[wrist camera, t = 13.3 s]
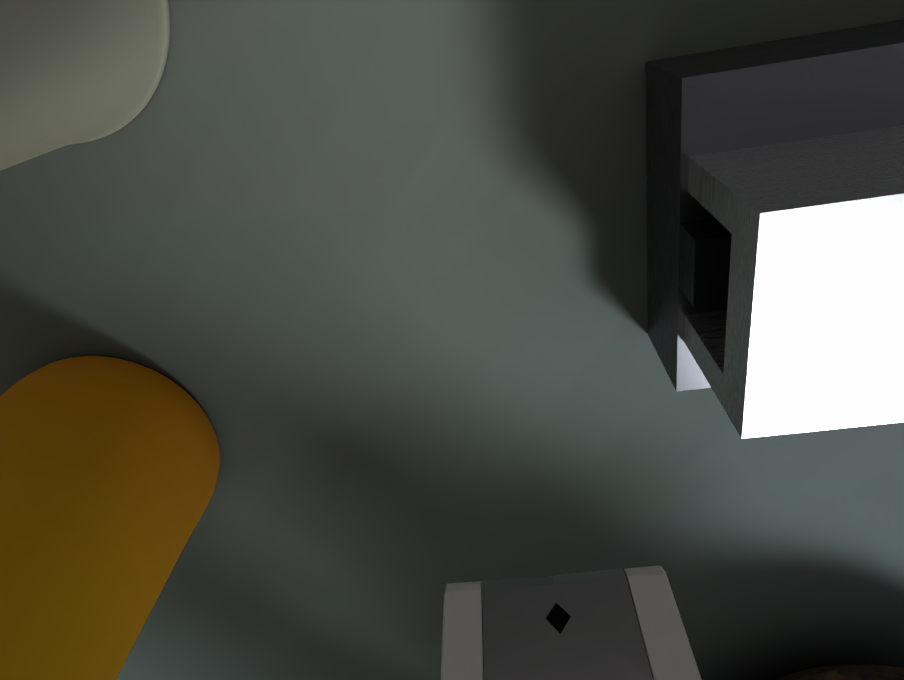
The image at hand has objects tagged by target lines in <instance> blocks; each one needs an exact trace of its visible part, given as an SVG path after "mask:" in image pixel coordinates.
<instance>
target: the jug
mask: <svg viewBox="0 0 904 680" xmlns="http://www.w3.org/2000/svg"><path fill="white" fill-rule="evenodd" d="M777 680H904V668H900V667H893V666H886V665H875V664H859V665H848V664H846V665H831V666H819V667H815V668H810V669H806V670H802V671H798V672H795V673H792V674H790V675H787V676H784V677H781V678H779V679H777Z"/></svg>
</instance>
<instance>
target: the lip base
mask: <svg viewBox="0 0 904 680" xmlns="http://www.w3.org/2000/svg"><path fill="white" fill-rule="evenodd" d="M900 125H904V20H899V21H893V22H887V23H881V24H875V25H869V26H863V27H856V28H850V29H844V30H838V31H832V32H826V33H820V34H814V35H808V36H802V37H795V38H789V39H783V40H777V41H771V42H765V43H759V44H753V45H747V46H741V47H734V48H728V49H722V50H716V51H710V52H704V53H698V54H692V55H686V56H680V57H673V58H667V59H661V60H655V61H649V62H646V157H647V279H648V336H649V338H650V340H651V342H652V344H653V346H654V348H655V350H656V352H657V354H658V356H659V358H660V360H661V362H662V363H663V365H664V367H665V369H666V371H667V373H668V375H669V377H670V379H671V381H672V383H673V385H674V387H675V389H676V391H685V390H694V389H703V388H711V386H710V385H709V383H708V381H707V380H706V378H705V376H704V374H703V373H702V371H701V369H700V368H699V366H698V364H697V363H696V361H695V359H694V358H693V356H692V354H691V353H690V351H689V349H688V348H687V346H686V344H685V342H684V337H685V315H690V314H698V313H706V312H714V311H722V310H727V305H728V288H729V271H730V255H731V238H732V234H731V233H730V232H729V231H728V230H727V229H726V228H725V227H724V226H723V225H722V224H721V223H720V222H719V221H718V220H717V219H716V218H715V217H714V216H713V215H712V214H711V213H710V212H709V211H707V210H706V209H705V208H704V207H703V206H702V205H701V204H700V203H699V202H698V201H697V200H696V199H695V198H694V197H693V196H692V195H691V194H690V193H689V192H688V170H689V157H691V156H697V155H704V154H711V153H718V152H724V151H731V150H738V149H745V148H751V147H758V146H765V145H772V144H778V143H785V142H792V141H799V140H806V139H812V138H819V137H826V136H833V135H839V134H846V133H853V132H860V131H866V130H873V129H880V128H887V127H893V126H900Z"/></svg>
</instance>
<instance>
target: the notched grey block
mask: <svg viewBox="0 0 904 680" xmlns="http://www.w3.org/2000/svg"><path fill="white" fill-rule="evenodd" d="M688 192H689V193H690V194H691V195H692V196H693V197H694V198H695V199H696V200H697V201H698V202H699V203H700V204H701V205H702V206H703V207H704V208H705V209H706V210H707V211H709V212H710V213H711V214H712V215H713V216H714V217H715V218H716V219H717V220H718V221H719V222H720V223H721V224H722V225H723V226H724V227H725V228H726V229H727V230H728V231H729V232H730V233H731V234H732V238H731V255H730V271H729V288H728V305H727V310H722V311H714V312H706V313H698V314H690V315H685V337H684V342H685V344H686V346H687V348H688V349H689V351H690V353H691V354H692V356H693V358H694V359H695V361H696V363H697V364H698V366H699V368H700V369H701V371H702V373H703V374H704V376H705V378H706V380H707V381H708V383H709V385H710V386H711V388H712V390H713V391H714V393H715V395H716V396H717V398H718V400H719V401H720V403H721V405H722V406H723V408H724V410H725V412H726V413H727V415H728V417H729V418H730V420H731V422H732V423H733V425H734V427H735V428H736V430H737V432H738V433H739V435H740V437H741V438H742V439H745V438H754V437H764V436H774V435H783V434H793V433H803V432H812V431H822V430H832V429H841V428H851V427H861V426H871V425H880V424H890V423H900V422H904V125H900V126H893V127H887V128H880V129H873V130H866V131H860V132H853V133H846V134H839V135H833V136H826V137H819V138H812V139H806V140H799V141H792V142H785V143H778V144H772V145H765V146H758V147H751V148H745V149H738V150H731V151H724V152H718V153H711V154H704V155H697V156H691V157H689V170H688Z"/></svg>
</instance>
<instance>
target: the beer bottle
mask: <svg viewBox="0 0 904 680" xmlns="http://www.w3.org/2000/svg"><path fill="white" fill-rule="evenodd" d="M219 469H220V449H219V444H218V440H217V436H216V433H215V431H214V428H213V426H212V424H211V422H210V420H209V418H208V417H207V415H206V414H205V412H204V411H203V410H202V408H201V407H200V405H199V404H198V403H197V402H196V401H195V400H194V399H193V398H192V397H191V396H190V395H189V394H188V393H187V392H186V391H185V390H184V389H182V388H181V387H180V386H178V385H177V384H176V383H174V382H173V381H172V380H170V379H169V378H167V377H165V376H163V375H161V374H160V373H158V372H156V371H154V370H152V369H150V368H147V367H145V366H142V365H139V364H137V363H134V362H131V361H127V360H123V359H118V358H114V357H105V356H81V357H71V358H67V359H63V360H59V361H55V362H52V363H50V364H48V365H46V366H44V367H42V368H40V369H38V370H36V371H34V372H32V373H30V374H28V375H27V376H25V377H24V378H22V379H20V380H19V381H18V382H17V383H15V384H14V385H13V386H12V387H10V388H9V389H8V390H7V391H6V392H5V393H4V394H2V395H1V396H0V680H116V679H117V677H118V675H119V673H120V671H121V669H122V667H123V665H124V663H125V661H126V659H127V657H128V655H129V653H130V652H131V650H132V648H133V646H134V644H135V642H136V640H137V638H138V636H139V634H140V632H141V630H142V628H143V626H144V624H145V622H146V620H147V618H148V616H149V614H150V612H151V611H152V609H153V607H154V605H155V603H156V601H157V599H158V597H159V595H160V593H161V591H162V589H163V587H164V585H165V583H166V581H167V579H168V577H169V575H170V573H171V572H172V570H173V568H174V566H175V564H176V562H177V560H178V558H179V556H180V554H181V552H182V550H183V548H184V546H185V545H186V543H187V541H188V539H189V537H190V535H191V534H192V532H193V530H194V529H195V527H196V525H197V523H198V522H199V520H200V518H201V516H202V515H203V513H204V511H205V509H206V507H207V505H208V504H209V502H210V499H211V497H212V495H213V492H214V489H215V486H216V482H217V478H218V474H219Z"/></svg>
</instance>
